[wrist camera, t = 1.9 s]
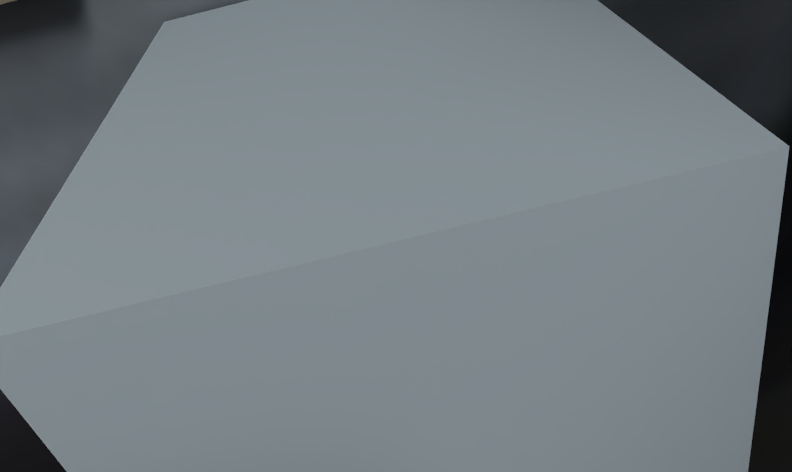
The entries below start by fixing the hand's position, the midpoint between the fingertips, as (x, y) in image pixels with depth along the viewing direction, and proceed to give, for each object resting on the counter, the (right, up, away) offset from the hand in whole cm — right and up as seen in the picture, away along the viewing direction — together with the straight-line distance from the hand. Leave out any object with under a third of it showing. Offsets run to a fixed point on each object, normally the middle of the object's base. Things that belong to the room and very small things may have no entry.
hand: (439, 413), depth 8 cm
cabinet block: (-1, +3, +5) cm, 6 cm away
